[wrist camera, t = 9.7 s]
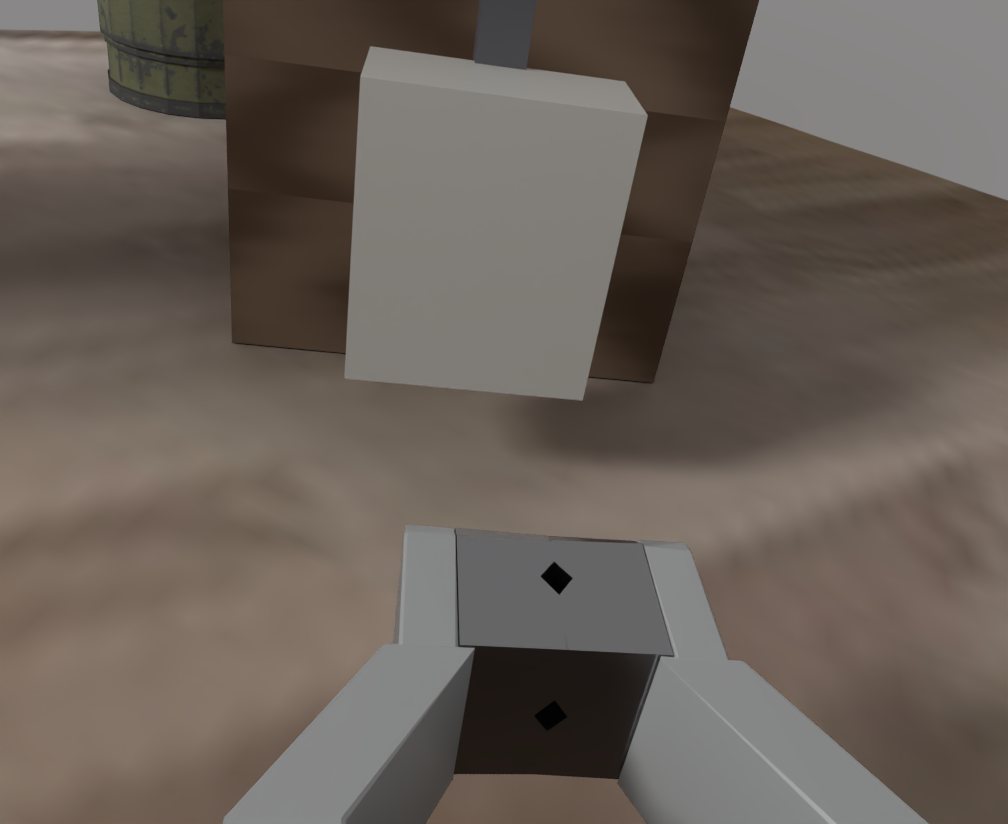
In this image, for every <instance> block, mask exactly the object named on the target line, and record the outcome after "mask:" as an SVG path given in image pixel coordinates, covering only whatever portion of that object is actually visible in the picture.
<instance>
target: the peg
mask: <svg viewBox="0 0 1008 824" xmlns="http://www.w3.org/2000/svg"><path fill="white" fill-rule="evenodd" d="M536 1H537V0H479V8H478V16H477V25H476V33H475V42H474V50H473V60H466V59H459V58H452V57H445V56H437V55H430V54H423V53H416V52H409V51H401V50H394V49H387V48H380V47H372V46H370V49H369V52H368V55H367V58H366V61H365V64H364V67H363V70H362V73H361V76H360V92H359V111H358V130H357V149H356V168H355V187H354V206H353V224H352V243H351V262H350V281H349V300H348V319H347V338H346V357H345V376H344V379H354V380H364V381H375V382H386V383H397V384H408V385H419V386H429V387H440V388H451V389H462V390H473V391H484V392H494V393H505V394H516V395H527V396H538V397H549V398H560V399H570V400H581V401H583V397H584V393H585V388H586V384H587V380H588V375H589V371H590V366H591V362H592V358H593V353H594V349H595V345H596V340H597V336H598V331H599V327H600V323H601V318H602V314H603V309H604V305H605V301H606V296H607V292H608V288H609V283H610V279H611V274H612V270H613V266H614V261H615V257H616V252H617V248H618V244H619V239H620V235H621V231H622V226H623V222H624V217H625V213H626V209H627V204H628V200H629V196H630V191H631V187H632V182H633V178H634V174H635V169H636V165H637V160H638V156H639V152H640V147H641V143H642V139H643V134H644V130H645V125H646V121H647V117H648V115H647V113H646V112H645V110H644V109H643V107H642V106H641V104H640V103H639V102H638V100H637V99H636V97H635V96H634V94H633V93H632V91H631V90H630V88H629V87H628V85H627V84H626V82H625V81H618V80H611V79H604V78H596V77H589V76H582V75H575V74H567V73H560V72H553V71H546V70H539V69H531V68H526V67H527V61H528V54H529V47H530V41H531V34H532V27H533V21H534V14H535V7H536Z"/></svg>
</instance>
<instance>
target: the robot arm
mask: <svg viewBox="0 0 1008 824" xmlns="http://www.w3.org/2000/svg"><path fill="white" fill-rule="evenodd" d="M454 774H538V775H556V776H573V777H590V778H607V779H619V780H618V785H619V786H620V788H621V789H622V790H623V792H624V793H625V794H626V796H627V797H628V798H629V800H630V801H631V803H632V804H633V805H634V807H635V808H636V809H637V811H638V812H639V813H640V815H641V816H642V818H643V819H644V820H645V822H646V823H647V824H929V823H927V822H926V821H925V820H924V819H923V818H922V817H921V816H919V815H918V814H917V813H916V812H915V811H914V810H913V809H911V808H910V807H909V806H908V805H907V804H906V803H905V802H903V801H902V800H901V799H900V798H899V797H898V796H897V795H896V794H894V793H893V792H892V791H891V790H890V789H889V788H888V787H886V786H885V785H884V784H883V783H882V782H881V781H880V780H878V779H877V778H876V777H875V776H874V775H873V774H872V773H870V772H869V771H868V770H867V769H866V768H865V767H864V766H862V765H861V764H860V763H859V762H858V761H857V760H856V759H854V758H853V757H852V756H851V755H850V754H849V753H848V752H847V751H845V750H844V749H843V748H842V747H841V746H840V745H839V744H837V743H836V742H835V741H834V740H833V739H832V738H831V737H829V736H828V735H827V734H826V733H825V732H824V731H823V730H821V729H820V728H819V727H818V726H817V725H816V724H815V723H813V722H812V721H811V720H810V719H809V718H808V717H807V716H805V715H804V714H803V713H802V712H801V711H800V710H799V709H798V708H796V707H795V706H794V705H793V704H792V703H791V702H790V701H788V700H787V699H786V698H785V697H784V696H783V695H782V694H780V693H779V692H778V691H777V690H776V689H775V688H774V687H772V686H771V685H770V684H769V683H768V682H767V681H766V680H764V679H763V678H762V677H761V676H760V675H759V674H758V673H756V672H755V671H754V670H753V669H752V668H751V667H750V666H749V665H747V664H746V663H745V662H744V661H735V660H729V657H728V655H727V652H726V649H725V646H724V643H723V640H722V638H721V635H720V632H719V629H718V626H717V623H716V621H715V618H714V615H713V612H712V609H711V606H710V604H709V601H708V598H707V595H706V592H705V589H704V587H703V584H702V581H701V578H700V575H699V572H698V570H697V567H696V564H695V561H694V558H693V556H692V553H691V550H690V548H689V547H688V546H687V545H686V544H685V543H684V542H665V541H643V540H638V541H637V542H635V541H626V540H609V539H592V538H575V537H557V536H543V535H532V534H520V533H509V532H498V531H486V530H475V529H463V528H455V530H454V531H453V529H452V528H443V527H431V526H419V525H408V524H406V527H405V531H404V538H403V548H402V557H401V567H400V577H399V586H398V596H397V605H396V616H395V626H394V637H393V644H383V645H382V646H381V647H380V648H379V649H378V651H377V652H376V653H375V654H374V655H373V656H372V657H371V658H370V659H369V660H368V661H367V662H366V664H365V665H364V666H363V667H362V668H361V669H360V670H359V671H358V672H357V673H356V674H355V676H354V677H353V678H352V679H351V680H350V681H349V682H348V683H347V684H346V685H345V686H344V688H343V689H342V690H341V691H340V692H339V693H338V694H337V695H336V696H335V697H334V698H333V700H332V701H331V702H330V703H329V704H328V705H327V706H326V707H325V708H324V709H323V710H322V712H321V713H320V714H319V715H318V716H317V717H316V718H315V719H314V720H313V721H312V722H311V723H310V725H309V726H308V727H307V728H306V729H305V730H304V731H303V732H302V733H301V734H300V735H299V737H298V738H297V739H296V740H295V741H294V742H293V743H292V744H291V745H290V746H289V747H288V749H287V750H286V751H285V752H284V753H283V754H282V755H281V756H280V757H279V758H278V759H277V761H276V762H275V763H274V764H273V765H272V766H271V767H270V768H269V769H268V770H267V771H266V772H265V774H264V775H263V776H262V777H261V778H260V779H259V780H258V781H257V782H256V783H255V784H254V786H253V787H252V788H251V789H250V790H249V791H248V792H247V793H246V794H245V795H244V796H243V798H242V799H241V800H240V801H239V802H238V803H237V804H236V805H235V806H234V807H233V808H232V810H231V811H230V812H229V813H228V814H227V815H226V816H225V817H224V821H223V824H426V822H427V820H428V819H429V817H430V816H431V814H432V812H433V811H434V809H435V807H436V806H437V804H438V803H439V801H440V799H441V798H442V796H443V794H444V793H445V791H446V790H447V788H448V786H449V785H450V783H451V781H452V780H453V775H454Z"/></svg>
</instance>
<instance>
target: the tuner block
mask: <svg viewBox="0 0 1008 824" xmlns="http://www.w3.org/2000/svg"><path fill="white" fill-rule="evenodd" d="M758 2H759V0H537V1H536V7H535V14H534V21H533V27H532V34H531V41H530V47H529V54H528V61H527V67H526V68H531V69H539V70H546V71H553V72H560V73H567V74H575V75H582V76H589V77H596V78H604V79H611V80H618V81H625V82H626V84H627V85H628V87H629V88H630V90H631V91H632V93H633V94H634V96H635V97H636V99H637V100H638V102H639V103H640V104H641V106H642V107H643V109H644V110H645V112H646V113H647V115H648V117H647V121H646V125H645V130H644V134H643V139H642V143H641V147H640V152H639V156H638V160H637V165H636V169H635V174H634V178H633V182H632V187H631V191H630V196H629V200H628V204H627V209H626V213H625V217H624V222H623V226H622V231H621V235H620V239H619V244H618V248H617V252H616V257H615V261H614V266H613V270H612V274H611V279H610V283H609V288H608V292H607V296H606V301H605V305H604V309H603V314H602V318H601V323H600V327H599V331H598V336H597V340H596V345H595V349H594V353H593V358H592V362H591V366H590V371H589V375H588V377H599V378H609V379H620V380H630V381H641V382H651V383H653V382H654V379H655V375H656V372H657V368H658V364H659V361H660V357H661V353H662V350H663V346H664V343H665V339H666V335H667V332H668V328H669V325H670V321H671V317H672V314H673V310H674V306H675V303H676V299H677V296H678V292H679V288H680V285H681V281H682V277H683V274H684V270H685V267H686V263H687V259H688V256H689V252H690V249H691V245H692V241H693V238H694V234H695V230H696V227H697V223H698V220H699V216H700V212H701V209H702V205H703V201H704V198H705V194H706V191H707V187H708V183H709V180H710V176H711V173H712V169H713V165H714V162H715V158H716V154H717V151H718V147H719V144H720V140H721V136H722V133H723V129H724V125H725V122H726V118H727V115H728V111H729V107H730V104H731V100H732V97H733V93H734V89H735V86H736V82H737V78H738V75H739V71H740V67H741V64H742V60H743V56H744V53H745V49H746V46H747V42H748V38H749V35H750V31H751V28H752V24H753V20H754V17H755V13H756V10H757V6H758ZM478 8H479V0H223V21H224V57H225V94H226V131H227V168H228V204H229V241H230V278H231V315H232V342H233V343H244V344H254V345H265V346H275V347H286V348H296V349H307V350H317V351H327V352H338V353H346V338H347V319H348V300H349V281H350V262H351V243H352V224H353V206H354V187H355V168H356V149H357V130H358V111H359V92H360V76H361V73H362V70H363V67H364V64H365V61H366V58H367V55H368V52H369V49H370V46H372V47H380V48H387V49H394V50H401V51H409V52H416V53H423V54H430V55H437V56H445V57H452V58H459V59H466V60H473V50H474V42H475V33H476V25H477V16H478Z"/></svg>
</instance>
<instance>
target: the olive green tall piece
mask: <svg viewBox="0 0 1008 824" xmlns="http://www.w3.org/2000/svg"><path fill="white" fill-rule="evenodd" d="M97 2H98V12H99V22H100V31H101V33H103V34H104V38H105V41H106V42H107V48H108V59H109V70H108V77H109V87H110V92H111V93H113V94H114V95H115V96H117V97H118V98H119V99H120V100H122V101H125V102H128V103H130V104H133V105H135V106H138V107H140V108H144V109H149V110H153V111H158V112H162V113H166V114H173V115H181V116H189V117H197V118H222V119H226V94H225V57H224V21H223V0H97Z"/></svg>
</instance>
